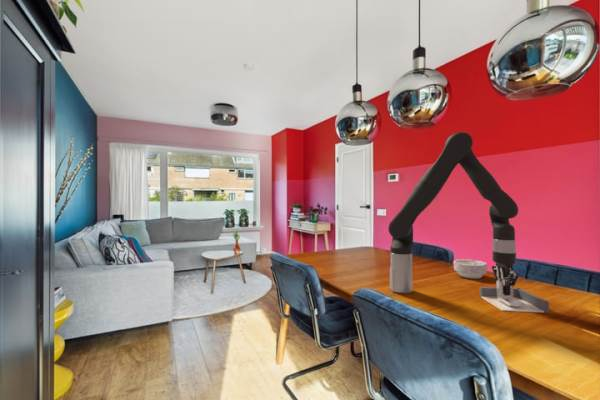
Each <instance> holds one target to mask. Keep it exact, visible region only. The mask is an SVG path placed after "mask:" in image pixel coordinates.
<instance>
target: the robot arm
mask: <svg viewBox="0 0 600 400" xmlns="http://www.w3.org/2000/svg"><path fill="white" fill-rule="evenodd" d="M473 141H474V140H473V138H472V135H470V134H469V133H468V132H464V131H459V132H455V133H453V134H451V135H450V136H449V137H448V138H447V139H446V141H445V143H444V148H443V149H442V151H441V153H440V154H439V156H438V158H437V159H436V160H435V162H433V164H432V165H431V166H430V167H429V168H428V169H427V170H426V172H424V174H423V175H422V176H421V178H420V179H419V181H418V182H417V183H416V184H415V186H414V188H413V189H412V192H411V193H410V195H409V196H408V198H407V200H406V202H405V203H404V205H403V206H402V207H401V209H400V210H399V211H398V212H397V214H396V215H395V216H394V217H393V218H392V219H391V220H390V222H389V224H388V232H389V235H390V236H391V239H392V241H391V244H390V267H389V290H390V291H392V293H397V294H411V293H413V247H414V226H413V225H414V223H415V222H416V219H417V218H418V217H419V216H420V214H421V213H423V212H424V211H425V209H427V208H428V207H429V206H430V205H431V203H432V202H433V201H434V200H435V199H436V198H437V196H438V194H439V193H440V192H441V190H442V189H443V187H444V186H445V184H446V183H447V181H448V179H449V178H450V176H451V174H452V172H453V170H455V168H456V167H457V166H458V164H459V165H460V166H461V168H462V169H463V170H464V171H465V174H466V175H467V176H468V178H469V179H470V181H471V182H472V184H473V185H474V187H475V188H476V190H477V191H478V192H479V195H481V197H482V198H483V199H484V200H486V201H489V202H490V203H491V204H490V206H489V210H488V211H489V213H488V214H489V219H490V222H491V226H492V249H491V250H492V261H493V262H494V263H495V265H492V266H491V270H492V273H493V276H494V280H495V281H496V280H497V281H503V285H504V286H503V294H504V295H506V296H509V295H510V286H513V287H515V285H516V283H517V281H518V279H519V273H517V272H516V273H515V270H514V267H513V266H514V265H516V264H517V245H516V230H515V227H514V226H513V225H512V224H511V223H510V219H513V218H516V217H517V216H518V213H519V205H518V204H517V203H516V202H515V200H514V199H513V198H512V197H511V196H510V195H508V193H507V192H506V191H504V190H503V189H502V187H501V185H500V184H499V183H498V182H497V180H496V178H495V177H494V176H493V175H492V173H491V172H490V171H489V170H488V169H487V168H486V167H485V166H484V165H483V164H482V163H481V162H480V160H479V159H478V158H477V156H476V155H475V153H474V152H473V149H472V148H473V144H474V142H473ZM506 281H507V282H506ZM511 282H512V283H511Z"/></svg>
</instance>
